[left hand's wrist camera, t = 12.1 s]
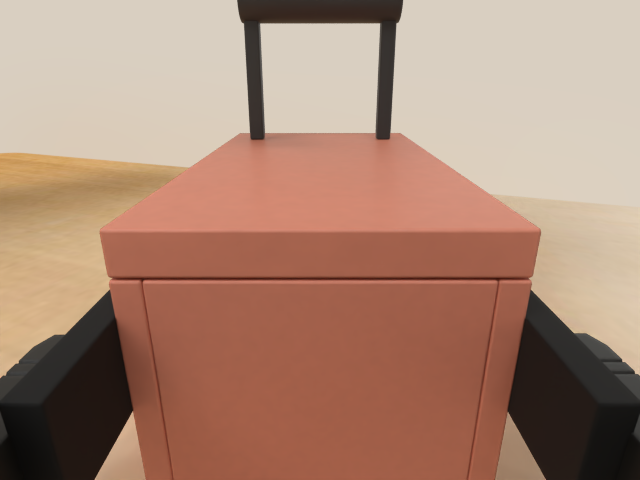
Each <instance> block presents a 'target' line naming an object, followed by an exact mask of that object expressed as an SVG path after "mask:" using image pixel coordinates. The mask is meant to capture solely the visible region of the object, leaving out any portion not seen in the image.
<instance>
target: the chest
mask: <svg viewBox="0 0 640 480" xmlns="http://www.w3.org/2000/svg"><path fill="white" fill-rule="evenodd" d="M531 285H532V282H531V280H530V279H529V278H112V279H111V280H110V282H109V286H110V292H111V297H112V302H113V308H114V313H115V318H116V323H117V329H118V334H119V339H120V345H121V350H122V355H123V360H124V366H125V371H126V376H127V381H128V387H129V392H130V397H131V403H132V408H133V413H134V418H135V424H136V429H137V434H138V440H139V445H140V450H141V455H142V461H143V466H144V471H145V477H146V480H495V476H496V470H497V465H498V460H499V455H500V449H501V444H502V439H503V433H504V428H505V423H506V418H507V412H508V406H509V401H510V396H511V391H512V385H513V380H514V375H515V369H516V364H517V359H518V354H519V348H520V343H521V338H522V332H523V327H524V322H525V317H526V312H527V306H528V301H529V296H530V290H531Z"/></svg>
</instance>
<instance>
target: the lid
mask: <svg viewBox="0 0 640 480" xmlns="http://www.w3.org/2000/svg"><path fill="white" fill-rule="evenodd" d="M237 2H238V10H239V15H240V19H241V22H242V23H244V31H245V49H246V67H247V85H248V103H249V121H250V133H240V134H238V135H237V136H235V137H234V138H233V139H231V140H230V141H228V142H227V143H225V144H224V145H222V146H221V147H219V148H218V149H217V150H215V151H214V152H212V153H211V154H209V155H208V156H206V157H205V158H203V159H202V160H200V161H199V162H198V163H196V164H195V165H193V166H192V167H190V168H189V169H187V170H186V171H184V172H183V173H181V174H180V175H179V176H177V177H176V178H174V179H173V180H171V181H170V182H168V183H167V184H165V185H164V186H163V187H161V188H160V189H158V190H157V191H155V192H154V193H152V194H151V195H149V196H148V197H146V198H145V199H144V200H142V201H141V202H139V203H138V204H136V205H135V206H133V207H132V208H130V209H129V210H128V211H126V212H125V213H123V214H122V215H120V216H119V217H117V218H116V219H114V220H113V221H111V222H110V223H109V224H107V225H106V226H104V227H103V228H101V229H100V237H101V243H102V248H103V253H104V258H105V264H106V269H107V274H108V276H109V277H111V278H530V277H532V276H533V272H534V267H535V262H536V256H537V251H538V246H539V240H540V235H541V230H540V228H538V227H537V226H535V225H534V224H532V223H531V222H529V221H528V220H526V219H525V218H523V217H522V216H521V215H519V214H518V213H516V212H515V211H513V210H512V209H510V208H509V207H507V206H506V205H504V204H503V203H502V202H500V201H499V200H497V199H496V198H494V197H493V196H491V195H490V194H488V193H487V192H486V191H484V190H483V189H481V188H480V187H478V186H477V185H475V184H474V183H472V182H471V181H469V180H468V179H466V178H465V177H464V176H462V175H461V174H459V173H458V172H456V171H455V170H453V169H452V168H450V167H449V166H448V165H446V164H445V163H443V162H442V161H440V160H439V159H437V158H436V157H434V156H433V155H431V154H430V153H429V152H427V151H426V150H424V149H423V148H421V147H420V146H418V145H417V144H415V143H414V142H412V141H411V140H410V139H408V138H407V137H405V136H404V135H402V134H400V133H390V130H391V112H392V93H393V76H394V57H395V39H396V23H398V22H399V20H400V17H401V13H402V6H403V0H237ZM260 23H380V44H379V67H378V90H377V113H376V133H265V126H264V103H263V80H262V57H261V34H260Z"/></svg>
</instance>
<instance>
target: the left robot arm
mask: <svg viewBox="0 0 640 480" xmlns="http://www.w3.org/2000/svg"><path fill="white" fill-rule="evenodd" d="M132 411H133V408H132V403H131V397H130V392H129V387H128V381H127V376H126V371H125V366H124V360H123V355H122V350H121V345H120V339H119V334H118V329H117V323H116V318H115V313H114V308H113V302H112V297H111V292H110V290H109V291H108V292H107V293H106V294H105V295H104V296H103V297H102V298H101V299H100V300H99V301H98V302H97V303H96V304H95V305H94V306H93V307H92V308H91V309H90V310H89V311H88V312H87V313H86V314H85V315H84V316H83V317H82V318H81V319H80V320H79V321H78V322H77V323H76V324H75V325H74V326H73V327H72V328H71V329H70V330H69V331H68V332H67V333H66V334H65V335H54V336H52V337H50V338H48V339H47V340H45V341H43V342H41V343H40V344H38V345H36V346H34V347H33V348H32V349H31V350H30V351H29V352H28V353H27V354H26V355H25V356H24V357H23V358H22V359H20V360H19V364H15V365H14V366H13V367H12V368H11V369H10V370H9V371H8V372H7V374H6V376H2V377H1V378H0V480H94V479H95V477H96V476H97V474H98V472H99V470H100V469H101V467H102V465H103V463H104V461H105V460H106V458H107V456H108V454H109V452H110V451H111V449H112V447H113V445H114V444H115V442H116V440H117V438H118V436H119V435H120V433H121V431H122V429H123V427H124V426H125V424H126V422H127V420H128V419H129V417H130V415H131V413H132ZM508 412H509V414H510V416H511V418H512V419H513V421H514V423H515V425H516V427H517V428H518V430H519V432H520V434H521V436H522V437H523V439H524V441H525V443H526V444H527V446H528V448H529V450H530V452H531V453H532V455H533V457H534V459H535V461H536V462H537V464H538V466H539V468H540V469H541V471H542V473H543V475H544V477H545V478H546V480H640V376H639V375H638V374H635V371H634V370H633V369H632V368H631V367H630V366H629V365H627V364H626V363H625V362H622V359H621V358H620V357H619V356H618V355H617V354H616V353H615V352H614V351H613V350H611V349H610V348H609V347H608V346H607V345H605V344H604V343H602V342H600V341H598V340H597V339H595V338H593V337H591V336H590V335H588V334H586V333H573V332H572V331H571V330H570V329H569V328H568V327H567V326H566V325H565V324H564V323H563V322H562V321H561V320H560V319H559V318H558V317H557V316H556V315H555V314H554V313H553V312H552V311H551V310H550V309H549V308H548V307H547V306H546V305H545V304H544V303H543V302H542V301H541V300H540V299H539V298H538V297H537V296H536V294H535V293H534V292H533V291H532V290H530V296H529V301H528V306H527V312H526V317H525V322H524V327H523V332H522V338H521V343H520V348H519V354H518V359H517V364H516V369H515V375H514V380H513V385H512V391H511V396H510V401H509V406H508Z"/></svg>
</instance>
